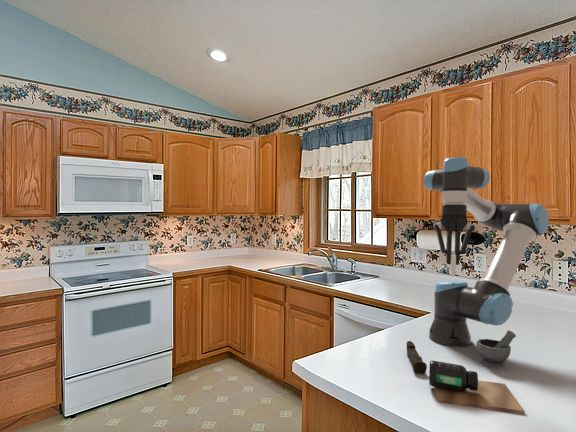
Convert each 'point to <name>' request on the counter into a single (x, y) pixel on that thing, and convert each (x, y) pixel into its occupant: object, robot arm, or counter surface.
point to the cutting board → (482, 397)
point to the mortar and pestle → (495, 350)
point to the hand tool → (415, 359)
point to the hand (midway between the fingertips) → (452, 274)
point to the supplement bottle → (452, 377)
